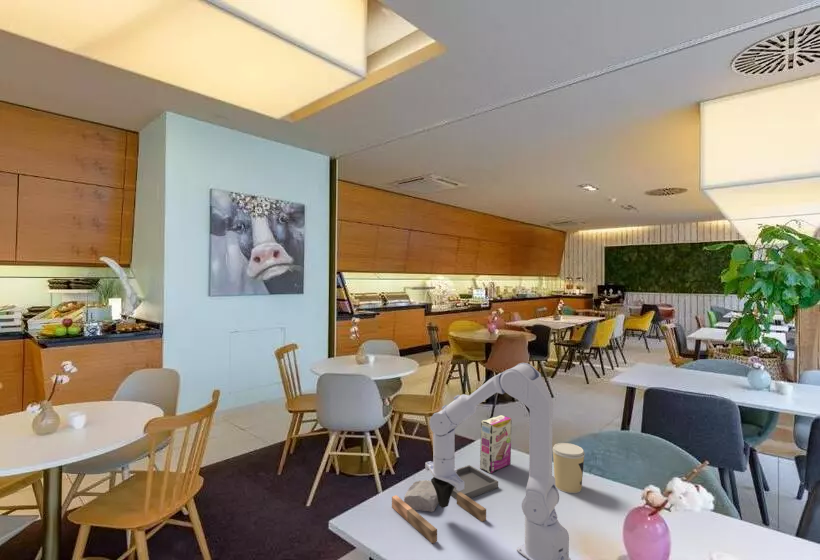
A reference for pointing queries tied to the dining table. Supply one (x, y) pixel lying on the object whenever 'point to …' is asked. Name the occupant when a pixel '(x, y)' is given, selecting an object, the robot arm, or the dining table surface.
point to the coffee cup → (568, 467)
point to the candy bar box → (495, 443)
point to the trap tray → (474, 482)
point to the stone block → (422, 496)
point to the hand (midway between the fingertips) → (443, 505)
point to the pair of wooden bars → (424, 525)
